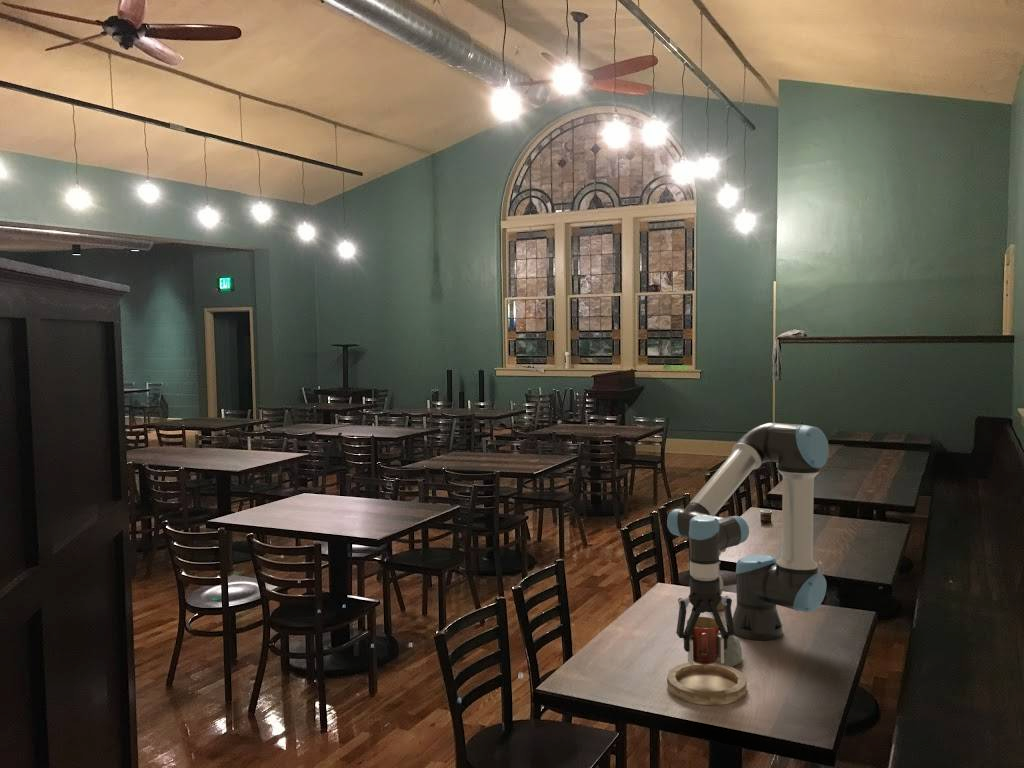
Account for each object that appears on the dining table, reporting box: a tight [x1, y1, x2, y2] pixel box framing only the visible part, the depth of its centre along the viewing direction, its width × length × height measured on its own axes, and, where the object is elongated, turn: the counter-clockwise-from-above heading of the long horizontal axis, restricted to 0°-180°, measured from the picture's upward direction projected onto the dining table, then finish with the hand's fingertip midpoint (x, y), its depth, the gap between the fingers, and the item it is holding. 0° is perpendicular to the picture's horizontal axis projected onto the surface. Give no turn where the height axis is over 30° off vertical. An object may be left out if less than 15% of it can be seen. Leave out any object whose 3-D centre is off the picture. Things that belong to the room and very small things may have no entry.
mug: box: [686, 616, 720, 665], centre depth 219 cm, size 12×9×10 cm
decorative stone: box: [715, 631, 743, 668], centre depth 236 cm, size 13×11×10 cm
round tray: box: [666, 661, 748, 707], centre depth 220 cm, size 20×20×3 cm
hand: (705, 661), depth 219 cm, fingers closed on mug, 7 cm apart
